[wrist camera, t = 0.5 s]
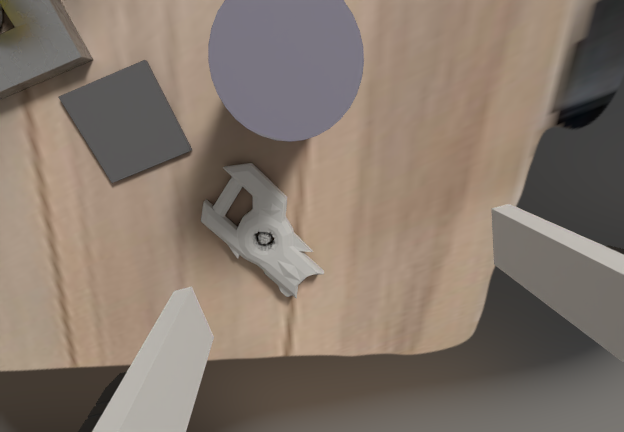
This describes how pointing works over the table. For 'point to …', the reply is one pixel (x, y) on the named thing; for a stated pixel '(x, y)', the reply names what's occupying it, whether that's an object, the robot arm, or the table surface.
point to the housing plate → (37, 44)
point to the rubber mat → (126, 121)
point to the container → (286, 64)
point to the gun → (261, 229)
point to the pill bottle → (0, 15)
